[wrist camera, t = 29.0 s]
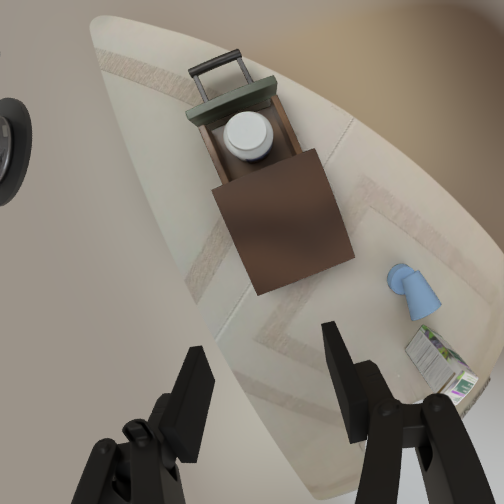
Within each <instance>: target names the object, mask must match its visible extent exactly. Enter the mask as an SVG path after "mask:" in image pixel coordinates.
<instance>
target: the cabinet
mask: <svg viewBox="0 0 504 504" xmlns="http://www.w3.org/2000/svg"><path fill="white" fill-rule="evenodd" d="M211 191H212V193H213V195H214V198H215V200H216V202H217V205H218V207H219V209H220V212H221V214H222V216H223V219H224V221H225V223H226V225H227V228H228V230H229V232H230V235H231V237H232V239H233V241H234V244H235V246H236V248H237V251H238V253H239V255H240V257H241V260H242V262H243V264H244V266H245V269H246V271H247V273H248V276H249V278H250V280H251V282H252V285H253V287H254V289H255V291H256V294H257V296H259V295H262V294H264V293H267V292H269V291H272V290H275V289H277V288H280V287H283V286H285V285H288V284H290V283H293V282H296V281H298V280H301V279H303V278H306V277H308V276H311V275H313V274H316V273H318V272H321V271H323V270H326V269H328V268H331V267H333V266H336V265H338V264H341V263H343V262H346V261H348V260H350V259H353V258H355V255H354V252H353V249H352V246H351V243H350V240H349V237H348V234H347V231H346V228H345V225H344V222H343V220H342V217H341V214H340V211H339V208H338V206H337V203H336V200H335V198H334V195H333V192H332V190H331V187H330V184H329V182H328V179H327V177H326V174H325V172H324V169H323V167H322V164H321V162H320V159H319V157H318V154H317V152H316V150H315V148H314V149H311V150H308V151H306V152H303V153H300V154H298V155H295V156H292V157H290V158H287V159H285V160H282V161H280V162H277V163H274V164H272V165H269V166H267V167H264V168H262V169H260V170H257V171H255V172H252V173H250V174H247V175H245V176H243V177H240V178H238V179H236V180H233V181H231V182H229V183H226V184H224V185H222V186H219V187H217V188H215V189H213V190H211Z"/></svg>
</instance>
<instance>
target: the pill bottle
mask: <svg viewBox="0 0 504 504" xmlns="http://www.w3.org/2000/svg"><path fill="white" fill-rule="evenodd" d="M223 137H224V142H225V145H226V147H227V148H228V150H229V151H230V152H231V153H232V154H233V155H235V156H236V157H237V158H238V159H240V160H241V161H244V162H249V163H255V162H259V161H261V160H263V159H264V158H265V157H266V156H267V155H268V154H269V152H270V151H271V148H272V143H273V129H272V126H271V124H270V122H269V121H268V120H267V119H266V118H265V117H264V116H263V115H261V114H259V113H256V112H250V111H247V112H241V113H238V114H236V115H235V116H233V117H232V118H231V119H230V120H229V121H228V123H227V124H226V126H225V129H224V134H223Z"/></svg>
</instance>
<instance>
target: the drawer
mask: <svg viewBox="0 0 504 504" xmlns="http://www.w3.org/2000/svg"><path fill="white" fill-rule="evenodd" d="M241 58H242V55H241V53H240V51H239V49H236V50H233V51H230V52H228V53H225V54H223V55H220V56H218V57H215V58H213V59H211V60H208V61H206V62H204V63H201V64H199V65H197V66H195V67H193V68H190V69H188V72H189V74H190V76H191V78H194V81H195V83H196V85H197V87H198V90H199V92H200V94H201V96H202V99H203V101H204V103H203V104H201V105H198V106H196V107H194V108H192V109H190V110H188V111H186V112H185V113H186V116H187V118H188V120H189V121H191V122H192V123H193V124H195V125H196V126H197V127H198V128H199V130H200V133H201V135H202V137H203V140H204V142H205V144H206V147H207V149H208V151H209V154H210V156H211V158H212V161H213V163H214V165H215V168H216V170H217V172H218V175H219V177H220V179H221V182H222V184H223V185H224V184H226V183H229V182H231V181H233V180H236V179H238V178H240V177H243V176H245V175H247V174H250V173H252V172H255V171H257V170H260V169H262V168H264V167H267V166H269V165H272V164H274V163H277V162H280V161H282V160H285V159H287V158H290V157H292V156H295V155H298V154H300V153H303V152H302V149H301V147H300V145H299V142H298V140H297V138H296V135H295V133H294V131H293V129H292V127H291V124H290V122H289V120H288V118H287V116H286V113H285V111H284V109H283V107H282V105H281V103H280V101H279V99H278V96H277V95H276V91H277V81H276V79H275V77H274V75H272V76H270V77H267V78H264V79H261V80H258V81H256V82H253V81H252V79H251V76H250V74H249V72H248V70H247V68H246V66H245V65H244V63H243V61H242V59H241ZM234 60H237V62H238V64H239V66H240V68H241V70H242V72H243V74H244V76H245V78H246V80H247V82H248V85H245V86H243V87H240V88H238V89H235V90H233V91H230V92H228V93H225V94H223V95H221V96H218V97H216V98H214V99H212V100H208V97H207V95H206V93H205V91H204V89H203V86H202V84H201V82H200V80H199V77H198V76H199V75H201V74H203V73H205V72H208V71H210V70H212V69H215V68H217V67H219V66H222V65H224V64H227V63H229V62H232V61H234ZM270 98H271V99H270ZM267 99H270V107H267V108H264V109H262V110H259V111H256V113H259V114H261V115H263V116H264V117H265V118H266V119H267V120H268V121H269V122H270V124H271V126H272V129H273V143H272V148H271V151H270V152H269V154H268V155H267V156H266V157H265V158H264V159H263V160H261V161H259V162H255V163H249V162H244V161H241V160H240V159H238V158H237V157H236V156H235V155H233V154H232V153H231V152H230V151H229V150H228V148H227V147H226V145H225V142H224V137H223V134H224V129H225V126H226V124H225V125H223V126H220V127H218V128H216V129H214V130H210V129H208V128H207V127H206V126H205V125H207V124H209V123H211V122H213V121H216V120H218V119H220V118H223V117H225V116H227V115H230V114H232V113H234V112H237V111H239V110H242V109H244V108H246V107H249V106H252V105H254V104H257V103H259V102H262V101H265V100H267Z"/></svg>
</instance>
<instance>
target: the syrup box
mask: <svg viewBox="0 0 504 504" xmlns="http://www.w3.org/2000/svg"><path fill="white" fill-rule="evenodd" d="M405 351H406V352H407V354H408V355H409V357H410V358H411V360H412V361H413V363H414V364H415V366H416V367H417V368H418V370H419V371H420V373H421V374H422V376H423V377H424V379H425V380H426V382H427V383H428V385H429V386H430V388H431V389H432V391H433V392H434V393H443V394H445V395H447V396H449V397H450V399H451V400H452V402H453V404H454V405H457V404H458V403H459V402H460V401H461V400H462V399H463V398H464V397H465V396H466V395H467V394H468V393H469V391H470V390H471V389H472V388H473V386H474V385H475V383H476V382H477V380H478V377H477V376H476V375H475V373H474V372H473V371H472V370H471V369H470V368H469V366H468V365H467V364H466V363H465V362H464V361H463V359H462V358H461V357H460V356H459V355H458V354H457V353H456V352H455V350H454V349H453V348H452V347H451V346H450V345H449V344H448V343H447V342H446V341H445V340H444V339H443V338H442V337H441V336H440V335H439V334H438V333H436V332H435V331H433V330H431V329H430V328H428V327H426V326H424V325H422V326H421V328H420V329H419V331H418V332H417V334H416V335H415V336H414V338H413V339H412V341H411V342H410V343H409V345H408V346H407V348H406V349H405Z"/></svg>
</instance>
